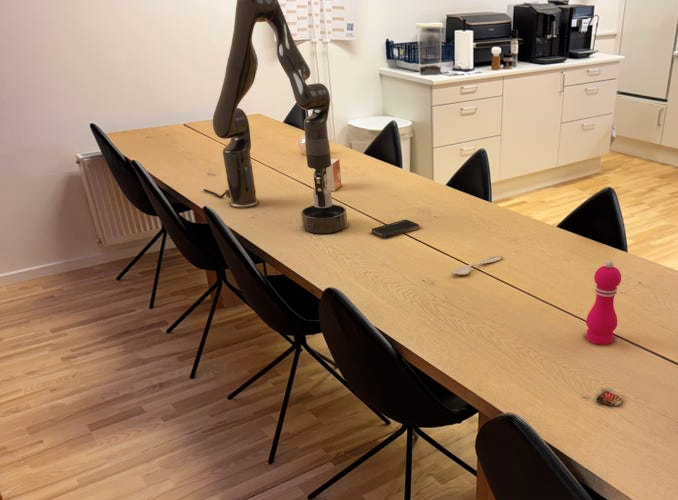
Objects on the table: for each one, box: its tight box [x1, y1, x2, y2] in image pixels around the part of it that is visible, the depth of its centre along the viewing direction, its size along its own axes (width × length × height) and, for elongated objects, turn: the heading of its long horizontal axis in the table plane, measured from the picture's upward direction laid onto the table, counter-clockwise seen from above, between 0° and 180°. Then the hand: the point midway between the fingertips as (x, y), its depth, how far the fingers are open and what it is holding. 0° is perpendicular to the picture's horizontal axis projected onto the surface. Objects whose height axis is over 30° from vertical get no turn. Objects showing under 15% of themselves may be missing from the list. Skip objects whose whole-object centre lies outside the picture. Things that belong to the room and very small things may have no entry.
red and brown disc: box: [596, 389, 622, 407], centre depth 140 cm, size 5×5×1 cm
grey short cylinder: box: [312, 189, 333, 208], centre depth 223 cm, size 6×6×5 cm
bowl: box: [300, 203, 348, 235], centre depth 227 cm, size 15×15×6 cm
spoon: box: [451, 256, 502, 276], centre depth 199 cm, size 4×21×2 cm, turn 136°
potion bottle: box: [298, 133, 306, 155], centre depth 306 cm, size 9×10×15 cm
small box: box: [326, 158, 342, 192], centre depth 263 cm, size 8×6×10 cm
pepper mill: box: [585, 259, 622, 345], centre depth 157 cm, size 7×7×20 cm
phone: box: [371, 219, 420, 239], centre depth 225 cm, size 8×1×15 cm
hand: (323, 203), depth 224 cm, fingers closed on grey short cylinder, 6 cm apart
